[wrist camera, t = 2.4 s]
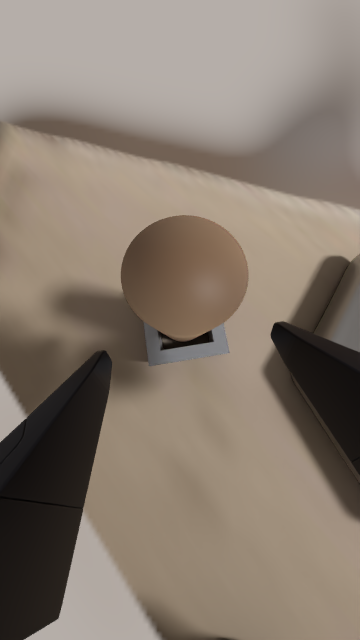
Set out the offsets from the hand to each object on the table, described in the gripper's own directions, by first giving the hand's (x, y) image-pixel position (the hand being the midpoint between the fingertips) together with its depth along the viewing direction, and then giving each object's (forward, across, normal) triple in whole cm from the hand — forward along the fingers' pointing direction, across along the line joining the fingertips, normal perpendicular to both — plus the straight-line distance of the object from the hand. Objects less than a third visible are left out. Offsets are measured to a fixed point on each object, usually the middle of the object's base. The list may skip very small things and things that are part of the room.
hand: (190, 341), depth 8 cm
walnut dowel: (+8, 0, +5) cm, 10 cm away
